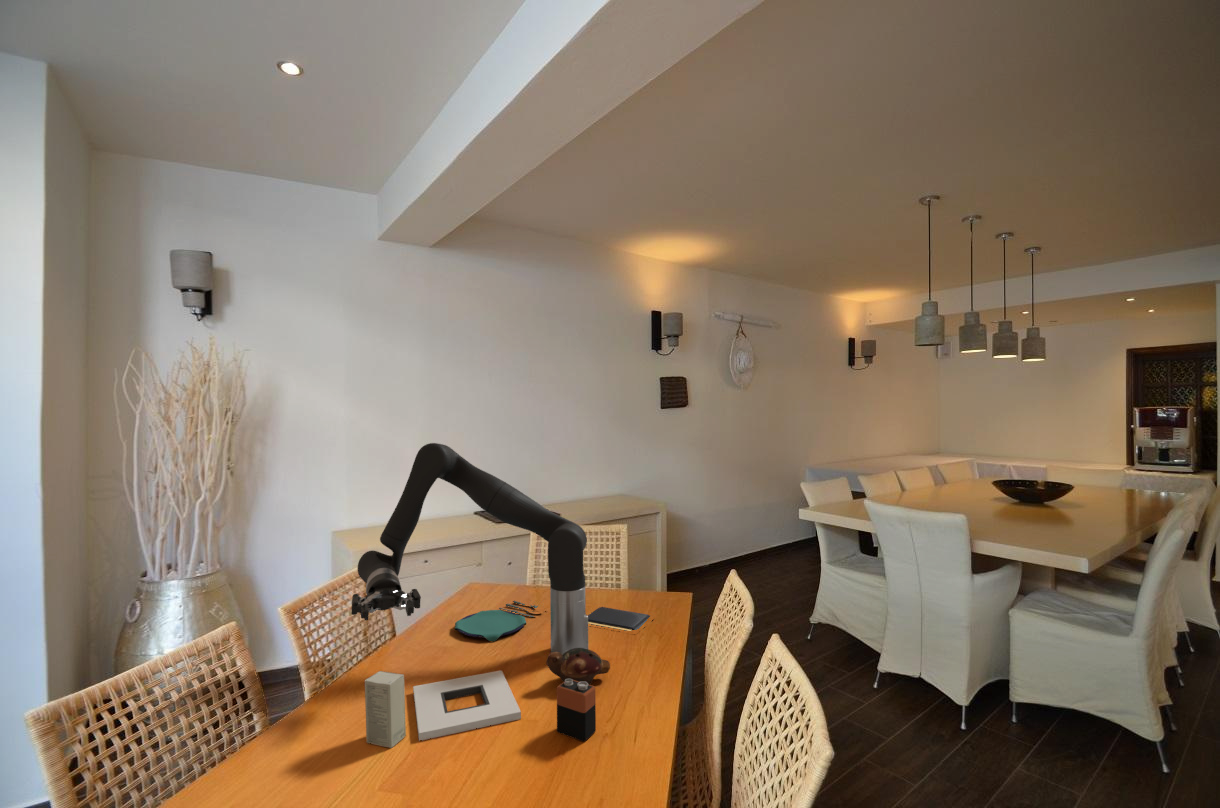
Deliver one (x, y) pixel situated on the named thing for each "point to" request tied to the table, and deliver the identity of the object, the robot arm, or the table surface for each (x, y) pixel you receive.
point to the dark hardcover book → (617, 619)
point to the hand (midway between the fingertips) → (388, 613)
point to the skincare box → (385, 709)
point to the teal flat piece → (492, 623)
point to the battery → (576, 709)
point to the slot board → (442, 722)
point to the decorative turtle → (577, 665)
